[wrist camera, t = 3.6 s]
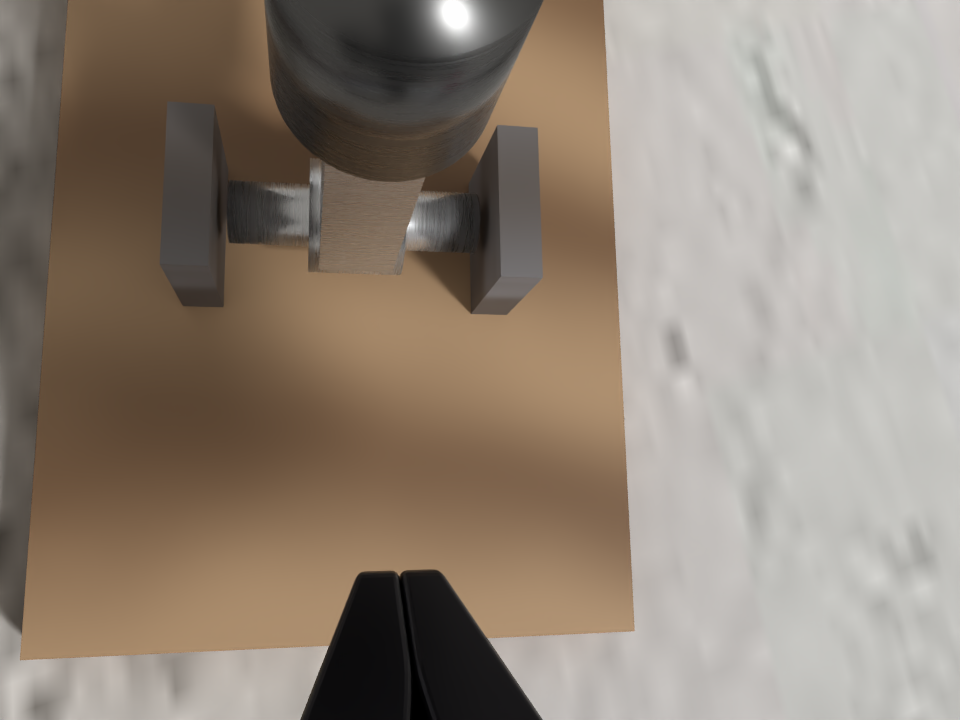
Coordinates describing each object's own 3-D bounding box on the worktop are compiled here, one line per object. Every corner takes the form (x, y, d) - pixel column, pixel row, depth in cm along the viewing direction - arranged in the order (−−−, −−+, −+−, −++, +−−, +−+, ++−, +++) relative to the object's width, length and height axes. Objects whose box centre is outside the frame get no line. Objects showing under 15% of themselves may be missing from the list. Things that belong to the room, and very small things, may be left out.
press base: (615, 624, 20) (701, 652, 15) (39, 650, 17) (-48, 693, 13) (580, -128, 23) (642, -275, 19) (97, -192, 21) (44, -377, 16)
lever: (466, 324, 18) (669, 74, 8) (230, 318, 17) (128, 29, 7) (461, 48, 20) (635, -473, 9) (240, 29, 19) (163, -573, 8)
